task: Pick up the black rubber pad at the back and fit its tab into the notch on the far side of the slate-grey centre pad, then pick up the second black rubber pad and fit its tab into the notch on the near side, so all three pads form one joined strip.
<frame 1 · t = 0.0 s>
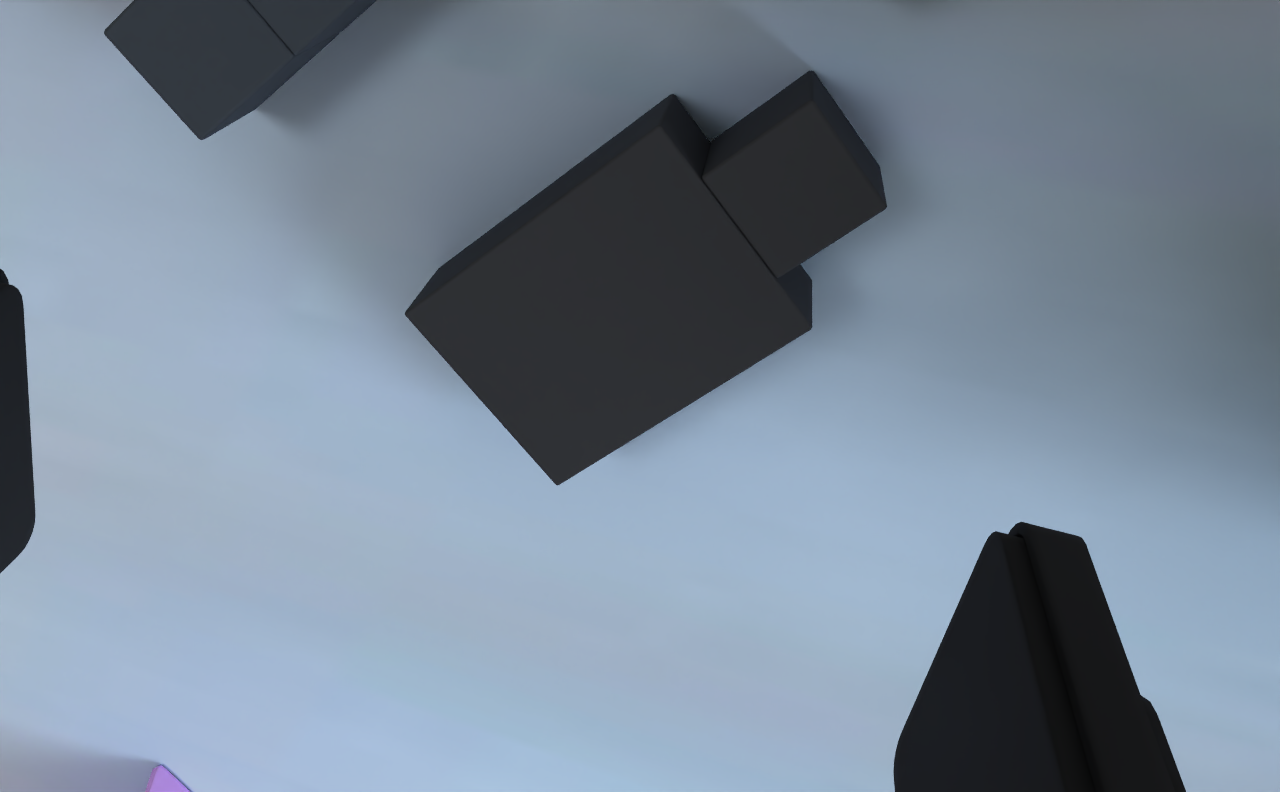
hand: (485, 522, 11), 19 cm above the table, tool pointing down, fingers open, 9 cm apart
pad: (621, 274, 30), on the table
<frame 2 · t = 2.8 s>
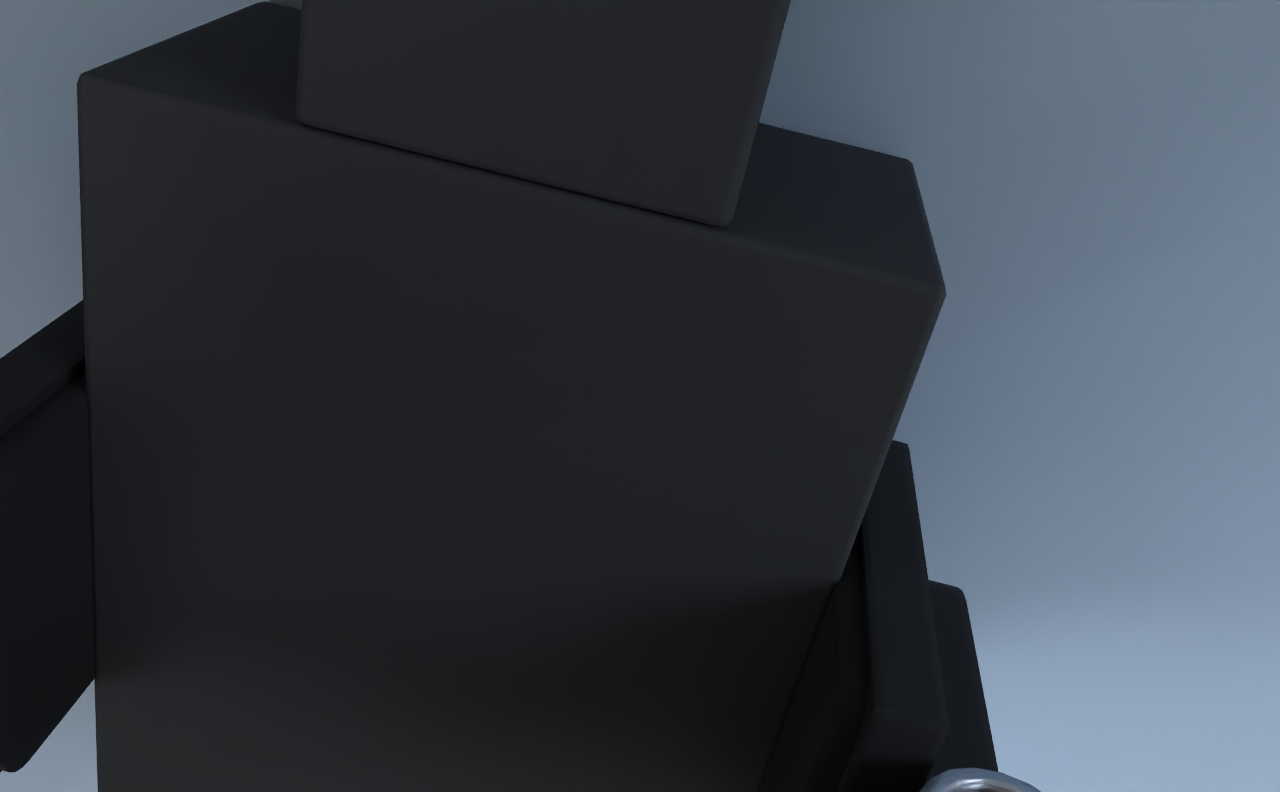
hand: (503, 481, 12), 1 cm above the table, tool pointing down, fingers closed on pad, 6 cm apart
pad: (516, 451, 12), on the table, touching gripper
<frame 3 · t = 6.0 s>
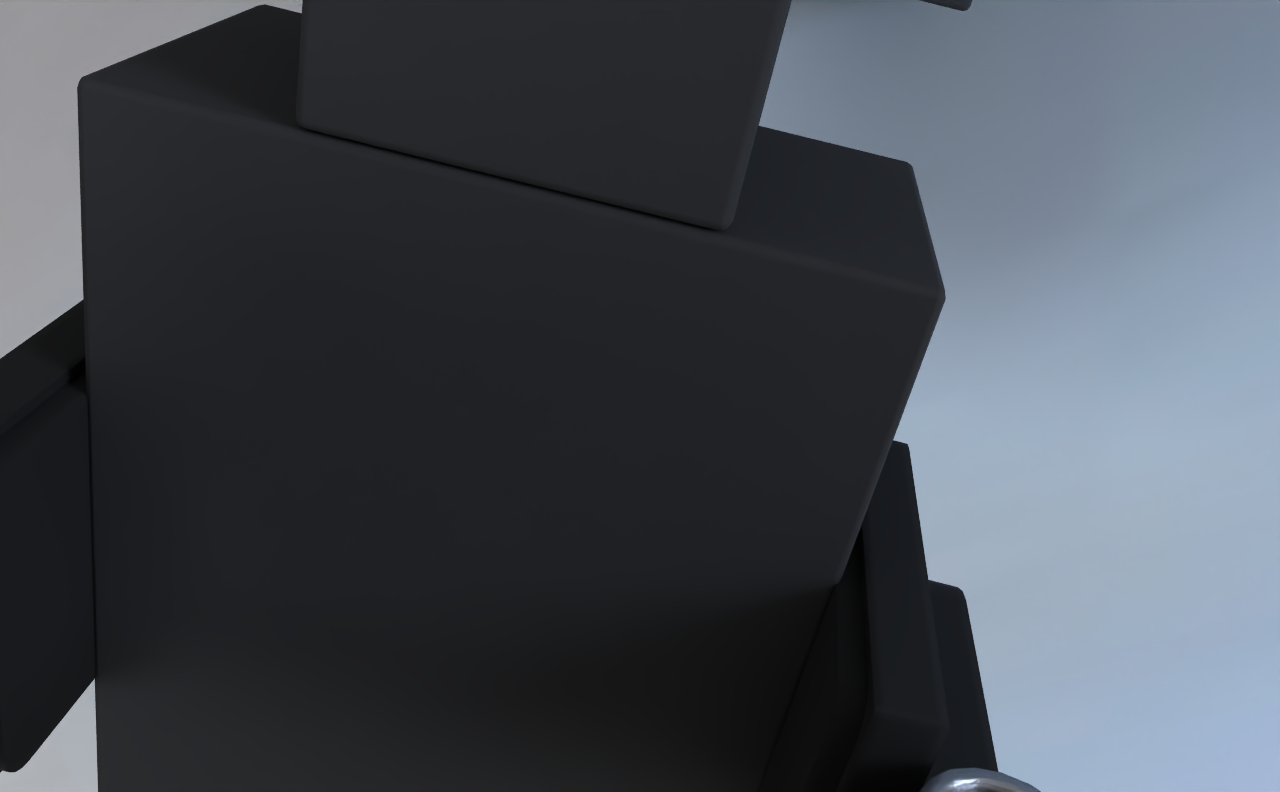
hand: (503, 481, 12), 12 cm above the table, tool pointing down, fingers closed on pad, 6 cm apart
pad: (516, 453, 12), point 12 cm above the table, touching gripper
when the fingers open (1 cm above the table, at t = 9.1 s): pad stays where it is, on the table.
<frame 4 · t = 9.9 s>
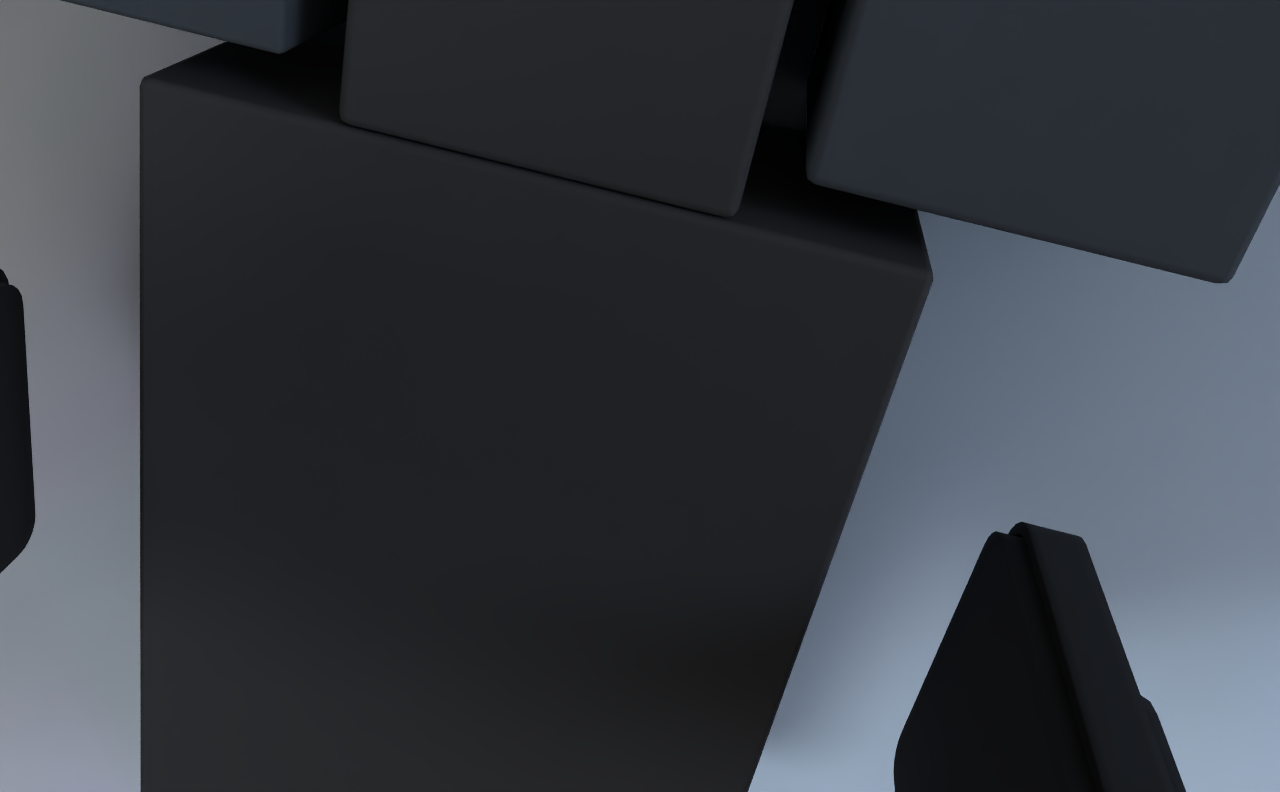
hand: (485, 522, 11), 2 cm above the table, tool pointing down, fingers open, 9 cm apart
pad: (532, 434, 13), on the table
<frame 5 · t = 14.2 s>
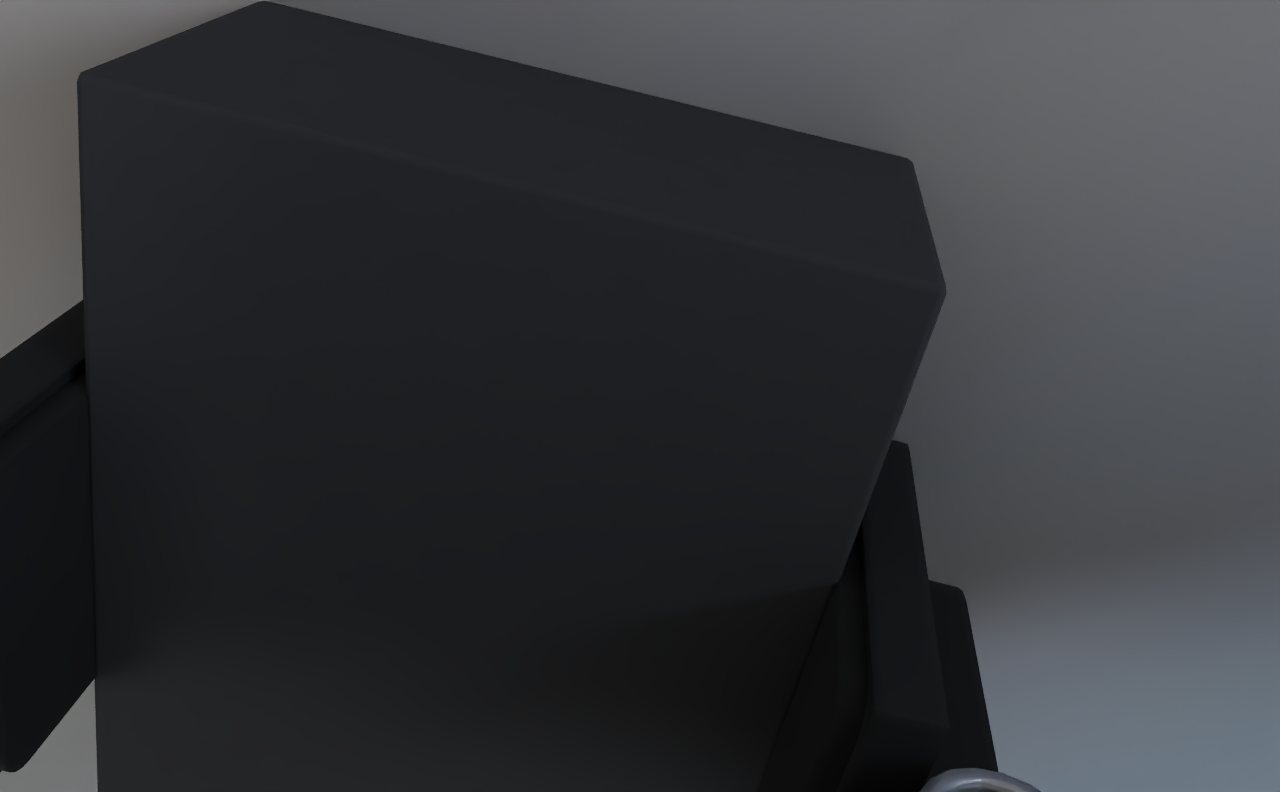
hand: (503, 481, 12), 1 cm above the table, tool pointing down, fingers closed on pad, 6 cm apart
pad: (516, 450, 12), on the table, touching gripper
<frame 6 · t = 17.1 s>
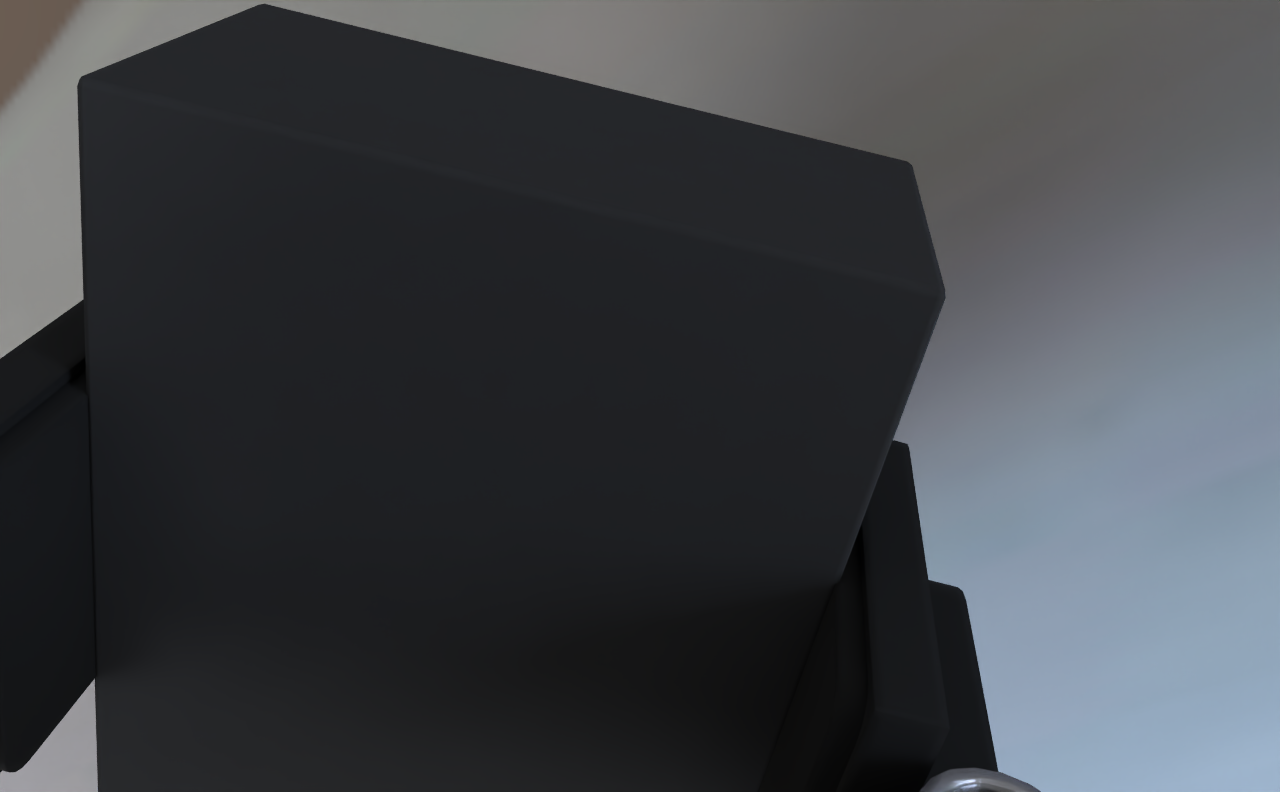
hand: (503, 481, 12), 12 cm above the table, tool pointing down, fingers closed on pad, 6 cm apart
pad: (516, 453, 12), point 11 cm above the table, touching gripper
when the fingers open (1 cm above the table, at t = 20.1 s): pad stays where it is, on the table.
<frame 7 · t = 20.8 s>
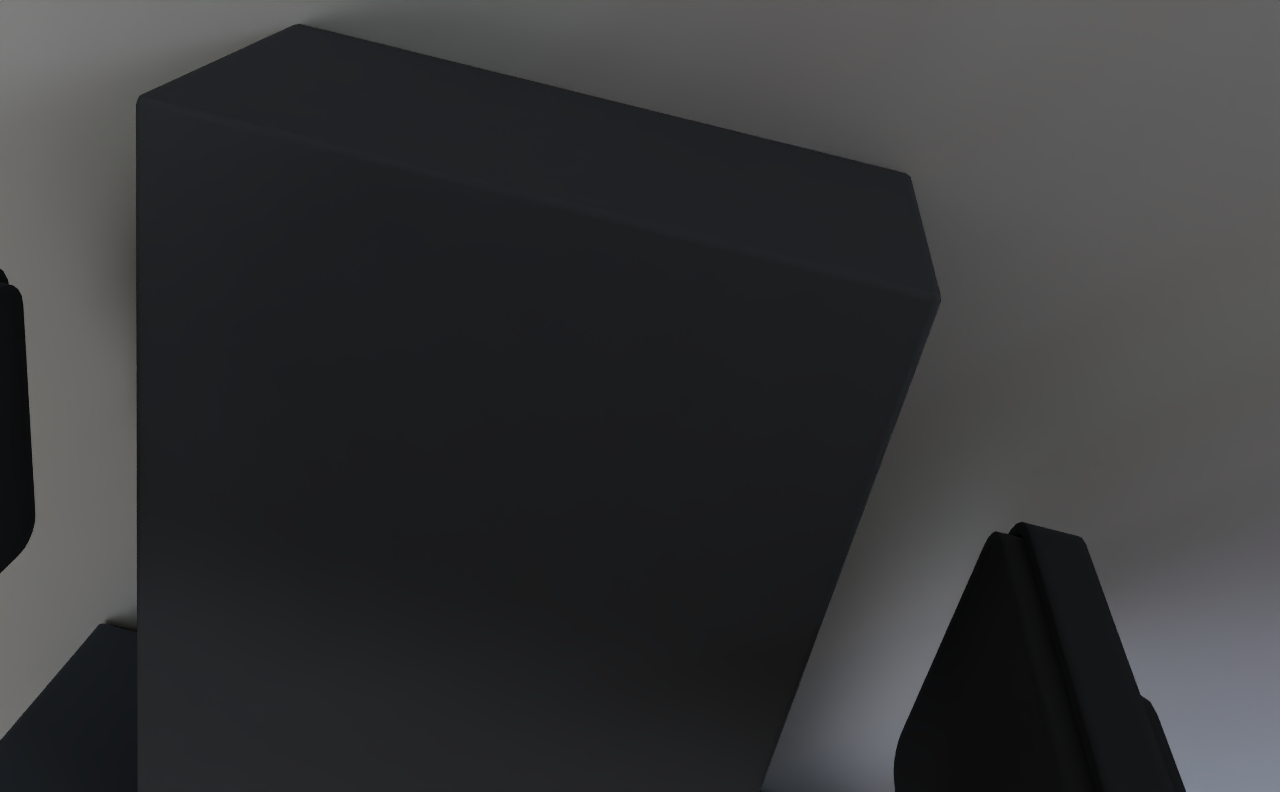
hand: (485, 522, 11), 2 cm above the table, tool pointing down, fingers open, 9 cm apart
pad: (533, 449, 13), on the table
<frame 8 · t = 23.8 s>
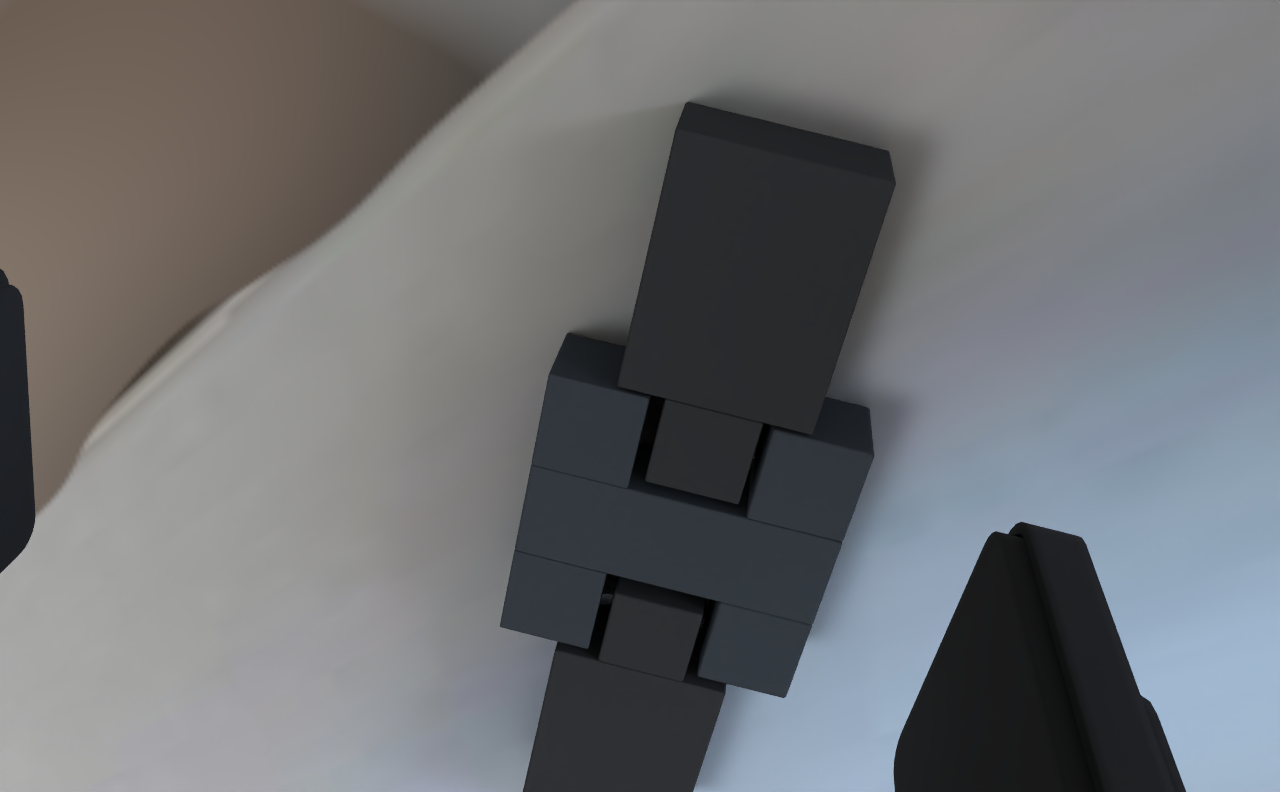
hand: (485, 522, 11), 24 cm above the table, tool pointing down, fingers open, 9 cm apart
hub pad: (683, 496, 40), on the table
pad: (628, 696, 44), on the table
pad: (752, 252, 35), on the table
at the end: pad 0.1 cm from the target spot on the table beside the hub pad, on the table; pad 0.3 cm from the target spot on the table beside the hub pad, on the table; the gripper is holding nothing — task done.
